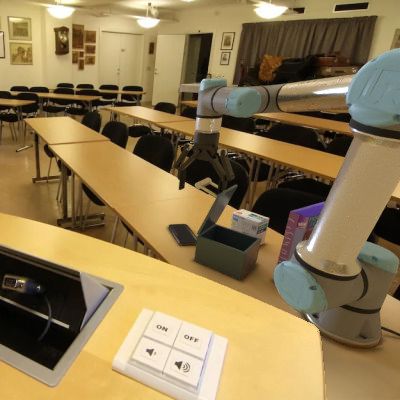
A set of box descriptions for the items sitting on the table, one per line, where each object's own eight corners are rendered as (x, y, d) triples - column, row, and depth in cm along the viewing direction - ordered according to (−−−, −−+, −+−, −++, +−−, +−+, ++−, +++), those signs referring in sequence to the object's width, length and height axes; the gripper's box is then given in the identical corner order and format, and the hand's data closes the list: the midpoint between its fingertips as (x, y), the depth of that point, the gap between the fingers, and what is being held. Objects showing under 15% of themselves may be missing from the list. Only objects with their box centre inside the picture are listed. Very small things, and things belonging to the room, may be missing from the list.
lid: (238, 185, 104) (212, 171, 109) (220, 195, 97) (193, 179, 102) (216, 223, 114) (193, 208, 119) (198, 235, 106) (175, 218, 111)
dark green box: (256, 264, 107) (261, 238, 104) (240, 280, 100) (245, 253, 96) (211, 247, 118) (215, 223, 114) (194, 260, 110) (197, 235, 106)
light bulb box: (264, 243, 119) (270, 217, 115) (254, 249, 116) (259, 222, 112) (238, 232, 128) (242, 208, 124) (227, 237, 124) (232, 212, 120)
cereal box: (287, 289, 95) (307, 217, 86) (272, 280, 99) (290, 210, 90) (325, 274, 101) (347, 205, 92) (309, 266, 105) (329, 199, 96)
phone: (186, 223, 133) (200, 241, 120) (186, 226, 134) (199, 244, 120) (167, 224, 133) (179, 242, 119) (167, 226, 134) (179, 245, 120)
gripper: (253, 134, 94) (241, 200, 102) (178, 125, 111) (173, 182, 119) (243, 138, 90) (231, 207, 98) (166, 128, 107) (161, 187, 115)
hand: (199, 193), depth 109 cm, fingers open, 13 cm apart
